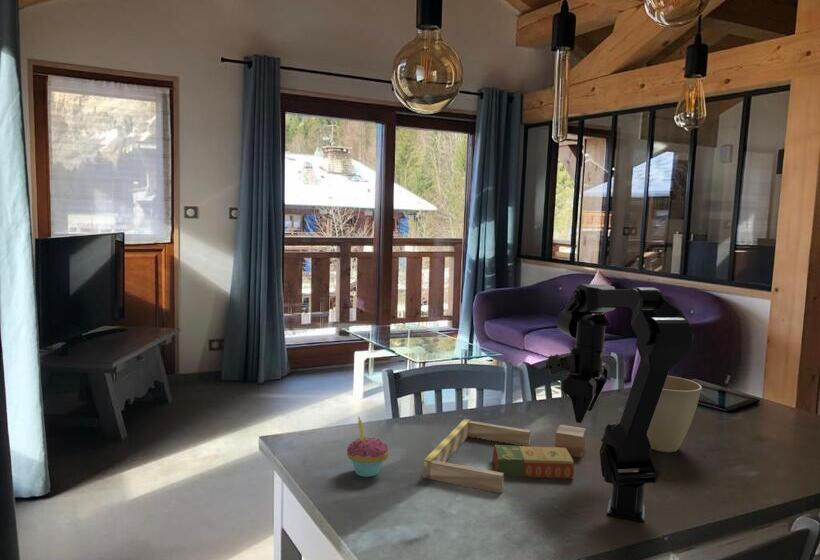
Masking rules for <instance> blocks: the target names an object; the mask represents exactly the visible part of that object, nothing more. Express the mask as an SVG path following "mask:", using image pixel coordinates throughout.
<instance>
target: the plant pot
mask: <svg viewBox="0 0 820 560" xmlns="http://www.w3.org/2000/svg"><path fill="white" fill-rule="evenodd" d="M702 389H703V386H702V385H701V384H699V383H698V382H696V381H694V380H691V379H687V378H682V377H680V376H679V377H678V376H673V375H668V376H667V378H666V381H665V384H664V387H663V390H662V393H661V395H660V398H659V401H658V404H657V407H656V409H655V412H654V415H653V418H652V421H651V423H650V426H649V429H648V432H647V436H648V438H649V441H650V444H651V450H655V451H657V452H662V453H674V452H677V451H678V450H679V448H680V447H681V445H682V444H683V441H684V439H685V437H686V435H687V433H688V432H689V428H690V427H691V424H692V422H693V418H694V416H695V413H696V410H697V407H698V403H699V399H700V395H701V391H702Z"/></svg>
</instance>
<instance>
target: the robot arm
mask: <svg viewBox="0 0 820 560" xmlns="http://www.w3.org/2000/svg"><path fill="white" fill-rule="evenodd" d="M575 288H576V289H575V290H574V291H573V293H572V294H571V297H570V299H569V300H568V301H567V303H566V304H565V308H564V310H562V311H561V312H560V313H559V314H558V316H557V318H556V321H555V322H556V327H557V329H558V331H560V332H561V333H563V334H564V335H567V336H569V337H571V338H574V339H575V345H574V347H573V348H572V349H571V350H570V352H565V353H562V354H558V353H556V354H554V355H552V354H551V355H549V356H548V358H547V359H546V360H545V369H546V370H548V372H549V375H555V374H556V373H561V372H566V371H568V375H567V376H566V377H565V378H564V379H563V380H561V386H560V387H561V388H560V391H562V392H563V393H564V394H565V395H567V396H568V397H569V399H570V400H571V404H572V408H573V409H572V410H573V414H574V419H575V422H576V423H579V424H582V423H583V421H584V419H585V417H586V415H587V413H588V411H589V412H591V411H592V410H593V408H594V406H595V405H596V403H597V400H598V399H599V398H600V396H601V393H602V391H603V389H604V388H605V385H606V384H607V382H608V380H609V377H610V376H611V366H610V365H609V364H608V363H607V362H603V361H604V360H603V358H604V355H605V354H606V348H605V337H606V336H605V334H606V327H607V328H609V327H611V323H610V321H609V320H608V319H607V317H606V316H605V314H604V313H608V312H612V311H615V309H630V310H631V312H632V315H631V320H630V326H631V328H632V330H633V332H634V334H635V335H636V344H635V345H636V348H637V351H638V354H639V357H640V361H639V363H638V367H637V370H636V373H635V376H634V380H633V382H632V385H631V388H630V391H629V394H628V398H627V400H626V402H625V407H624V409H623V413H622V415H621V419H620V421H619V423H608V424H607V425H606V427H605V428H604V429H605V431H604V434H603V436H602V438H601V439H600V440H601V446H600V448H599V458H600V459H599V460H600V467H601V474H602V475H601V476H602V477H603V478H604V479H603V480H604V482H605V483H608V484H611V496H610V498H609V501H608V505H607V509H606V514H607V515H608V516H612V517H616V518H623V519H627V520H632V521H638V522H644V521H645V517H646V516H645V513H646V505H645V504H644V501H645V500H644V499H645V498H644V497H645V485H646V484H657V481H658V478H659V473H658V472H659V471H658V470H657V468H656V465H655V462H654V459H653V456H652V454H651V451H652V449H651V444H650V441H649V438H648V436H647V432H648V429H649V426H650V423H651V421H652V418H653V415H654V412H655V409H656V407H657V404H658V401H659V398H660V395H661V393H662V390H663V387H664V384H665V381H666V378H667V376H669V373H670V370H671V369H672V368H673V367H674V366H676V365H677V364H678V363H679V362H681V361H682V360H683V359H684V358H685V357H686V355H687V353H688V352H689V350H690V348H691V346H692V343H693V340H694V330H693V327H692V326H691V324H690V322H689V321H688V319H687V318H686V316H685V315H684V313H683V311H682V310H681V309H679V308H678V307H677V306H676V305H675V304H673V303H671V302H670V301H669V300H668V299H666V298H665V295H664V294H663V293H662V291H661V290H660V289H658V288H656V287H634V288H622V289H621V288H618V289H617V288H616V287H615V286H612V285H609V284H587V283H586V284H582V283H581V284H577V286H576V287H575ZM643 311H653V313H655V314H656V315H657V316H658V317H647V318H646V316H645V314H644V313H643ZM602 375H603V376H602ZM633 469H638V470H633ZM619 470H624V471H619ZM625 470H626V471H625Z"/></svg>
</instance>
